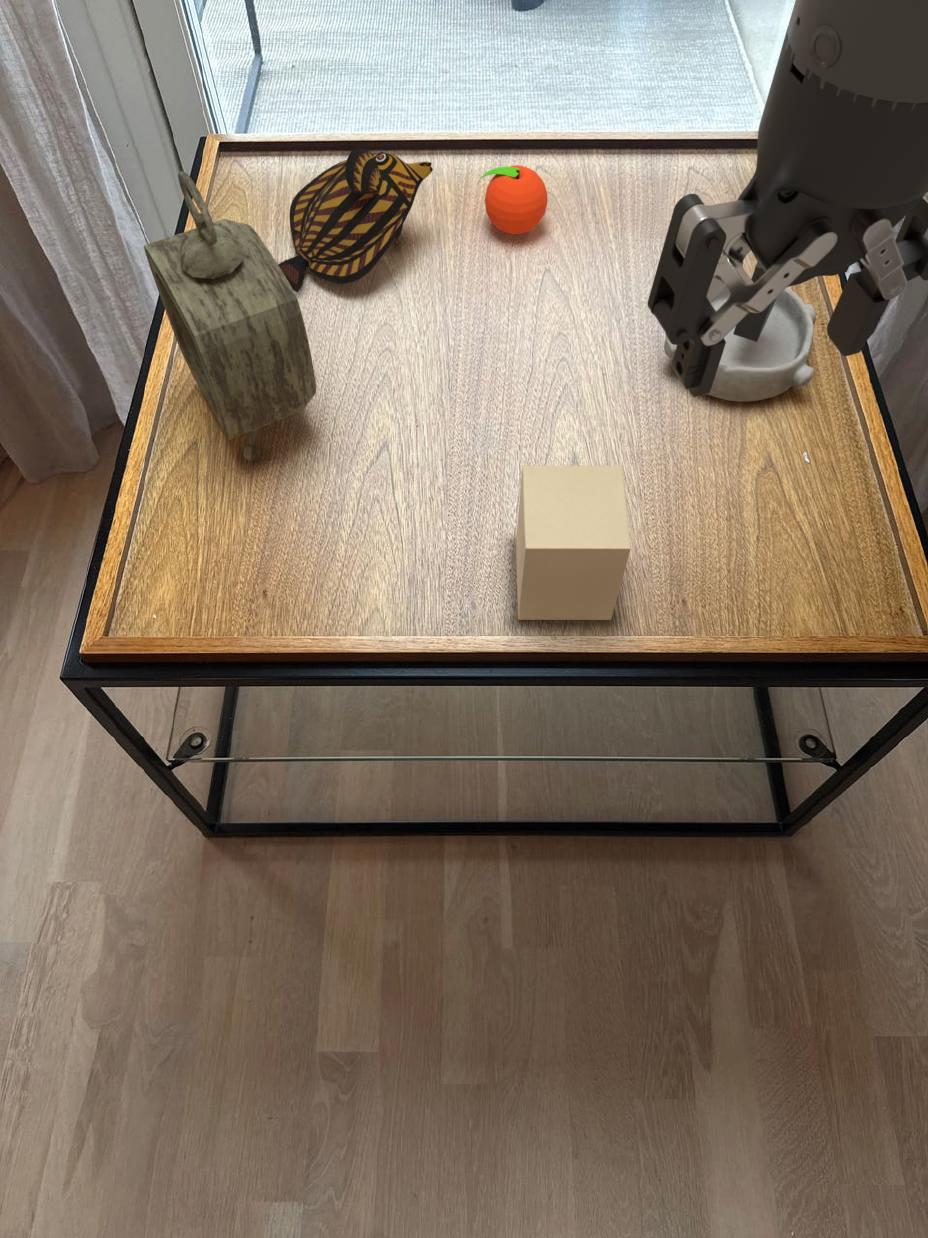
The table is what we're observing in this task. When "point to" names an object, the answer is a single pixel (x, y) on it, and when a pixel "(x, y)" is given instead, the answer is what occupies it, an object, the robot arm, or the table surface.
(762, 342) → the dish
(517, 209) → the clementine
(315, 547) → the table surface
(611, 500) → the stand
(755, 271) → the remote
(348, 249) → the decorative fish sculpture
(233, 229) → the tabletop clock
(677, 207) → the robot arm
